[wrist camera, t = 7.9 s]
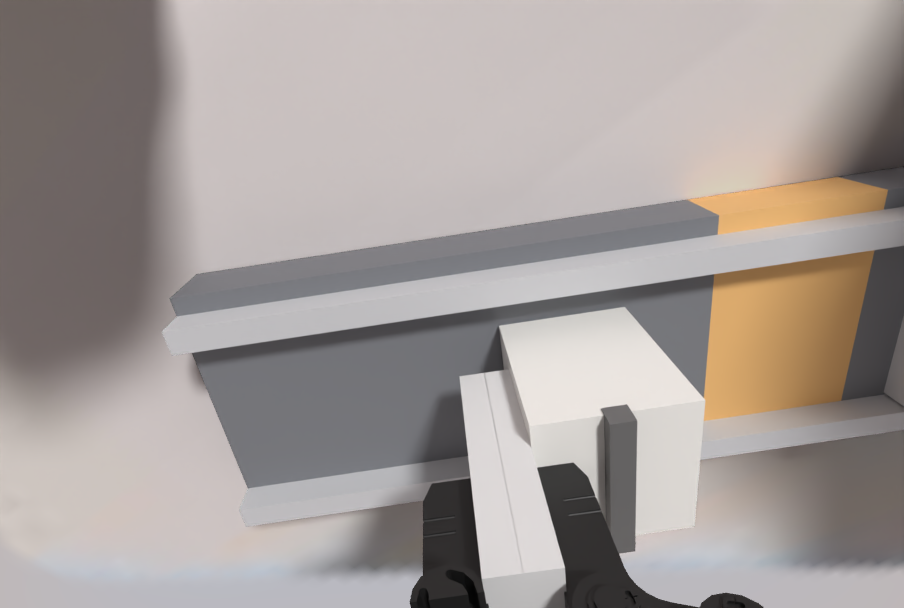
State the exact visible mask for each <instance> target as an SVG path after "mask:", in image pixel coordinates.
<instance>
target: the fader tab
mask: <svg viewBox="0 0 904 608" xmlns="http://www.w3.org/2000/svg"><path fill="white" fill-rule="evenodd" d="M499 331H500V339H501V348H502V357H503V366H504V370H507V369H509V372H510V375H511V379H512V382H513V386H514V389H515V393H516V396H517V400H518V403H519V406H520V410H521V413H522V417H523V420H524V424H525V427H526V431H527V434H528V438H529V441H530V445H531V448H532V452H533V456H534V459H535V463H536V466H537V468H538V467H545V466H551V465H558V464H566V463H574V464H575V465H576V466H577V467H579V468H580V469H581V470H582V471H583V472H584V473H585V474H586V475H587V476H588V478H589V481H590V483H591V486H592V488H593V491H594V493H595V497H596V498H597V501H598V503H599V506H600V508H601V512H602V513H603V516H604V518H605V521H606V523H607V526H608V528H609V531H610V533H611V536H612V538H613V541H614V543H615V546H616V548H617V551H618V553H626V552H632V551H635V536H636V535H643V534H650V533H657V532H664V531H670V530H677V529H684V528H691V527H695V516H696V504H697V492H698V481H699V469H700V457H701V446H702V434H703V422H704V411H705V399H704V398H703V397H702V396H701V395H700V393H699V392H698V391H697V390H696V389H695V388H694V387H693V385H692V384H691V383H690V382H689V381H688V380H687V378H686V377H685V376H684V375H683V374H682V373H681V371H680V370H679V369H678V368H677V367H676V366H675V364H674V363H673V362H672V361H671V360H670V359H669V358H668V356H667V355H666V354H665V353H664V352H663V351H662V349H661V348H660V347H659V346H658V345H657V344H656V342H655V341H654V340H653V339H652V338H651V337H650V336H649V334H648V333H647V332H646V331H645V330H644V329H643V327H642V326H641V325H640V324H639V323H638V322H637V320H636V319H635V318H634V317H633V316H632V315H631V314H630V312H629V311H628V310H627V309H626V308H625V307H620V308H614V309H607V310H600V311H594V312H587V313H580V314H574V315H567V316H560V317H554V318H547V319H540V320H534V321H527V322H521V323H514V324H507V325H501V326H499Z"/></svg>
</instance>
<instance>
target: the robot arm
mask: <svg viewBox="0 0 904 608" xmlns="http://www.w3.org/2000/svg"><path fill="white" fill-rule="evenodd" d="M459 377H460V386H461V395H462V404H463V413H464V423H465V432H466V441H467V450H468V459H469V468H470V477H471V478H468V479H461V480H453V481H446V482H439V483H432V484H431V486H430V488H429V490H428V492H427V494H426V496H425V499H424V501H423V521H424V523H423V538H424V539H423V576H421V577H420V579H419V580H418V582H417V583H416V585H415V586H414V588H413V590H412V595H411V599H410V605H411V608H698V607H693V606H688V605H682V604H677V603H672V602H668V601H664V600H660V599H658V598H655V597H654V596H652V595H649V594H647V593H646V592H645V591H643V590H642V589H641V588H640V587H638V586H637V585H636V584H635V583H634V582H633V580H632V579H631V578H630V577H629V575H628V573H627V572H626V570H625V568H624V566H623V563H622V561H621V558H620V556H619V553H618V551H617V548H616V546H615V543H614V541H613V538H612V536H611V533H610V531H609V528H608V526H607V523H606V521H605V518H604V516H603V513H602V512H601V508H600V506H599V503H598V501H597V498H596V497H595V493H594V491H593V488H592V486H591V483H590V481H589V478H588V476H587V475H586V474H585V473H584V472H583V471H582V470H581V469H580V468H579V467H577V466H576V465H575V464H574V463H566V464H558V465H551V466H545V467H538V468H537V466H536V463H535V459H534V456H533V452H532V448H531V445H530V441H529V438H528V434H527V431H526V427H525V424H524V420H523V417H522V413H521V410H520V406H519V403H518V400H517V396H516V393H515V389H514V386H513V382H512V379H511V375H510V372H509V369H507V370H501V371H494V372H487V373H479V374H472V375H465V376H459ZM700 608H763V607H762V606H761V605H760V604H759V603H756V602H754V601H752V600H750V599H748V598H746V597H744V596H742V595H736V594H730V593H722V594H716V595H711V596H710V597H709V598H707V599H706V600H705V601H704V602H702V603H701V606H700Z"/></svg>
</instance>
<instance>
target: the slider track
mask: <svg viewBox="0 0 904 608" xmlns="http://www.w3.org/2000/svg"><path fill="white" fill-rule="evenodd" d="M170 301H171V303H172V306H173V308H174V311H175V313H176V315H177V317H176V318H175V319H174V320H173V321H172V322H171V323H170V324H169V325H168V326H167V327H166V328H165V329H164V330H163V331H162V334H163V336H164V339H165V341H166V343H167V346H168V348H169V350H170V352H171V355H172V356H174V355H180V354H187V353H192V354H193V357H194V359H195V361H196V364H197V366H198V369H199V371H200V374H201V376H202V378H203V381H204V383H205V386H206V388H207V390H208V393H209V395H210V398H211V400H212V403H213V405H214V407H215V410H216V412H217V415H218V417H219V420H220V422H221V424H222V427H223V429H224V432H225V434H226V436H227V439H228V441H229V444H230V446H231V449H232V451H233V453H234V456H235V458H236V461H237V463H238V466H239V468H240V470H241V473H242V475H243V478H244V480H245V482H246V485H247V487H248V490H247V492H246V494H245V497H244V499H243V501H242V504H241V506H240V509H239V512H240V514H241V516H242V518H243V521H244V523H245V525H246V527H248V526H255V525H261V524H268V523H275V522H282V521H289V520H295V519H302V518H309V517H316V516H323V515H329V514H336V513H343V512H350V511H357V510H364V509H370V508H377V507H384V506H391V505H398V504H404V503H411V502H418V501H424V499H425V496H426V494H427V492H428V490H429V488H430V486H431V484H432V483H439V482H446V481H453V480H461V479H468V478H471V477H470V468H469V459H468V450H467V441H466V432H465V423H464V413H463V404H462V395H461V386H460V377H459V376H465V375H472V374H479V373H487V372H494V371H501V370H504V366H503V357H502V348H501V339H500V331H499V326H501V325H507V324H514V323H521V322H527V321H534V320H540V319H547V318H554V317H560V316H567V315H574V314H580V313H587V312H594V311H600V310H607V309H614V308H620V307H625V308H626V309H627V310H628V311H629V312H630V314H631V315H632V316H633V317H634V318H635V319H636V320H637V322H638V323H639V324H640V325H641V326H642V327H643V329H644V330H645V331H646V332H647V333H648V334H649V336H650V337H651V338H652V339H653V340H654V341H655V342H656V344H657V345H658V346H659V347H660V348H661V349H662V351H663V352H664V353H665V354H666V355H667V356H668V358H669V359H670V360H671V361H672V362H673V363H674V364H675V366H676V367H677V368H678V369H679V370H680V371H681V373H682V374H683V375H684V376H685V377H686V378H687V380H688V381H689V382H690V383H691V384H692V385H693V387H694V388H695V389H696V390H697V391H698V392H699V393H700V395H701V396H702V397H703V398H704V399H705V411H704V422H703V434H702V446H701V457H700V460H704V459H710V458H717V457H724V456H731V455H738V454H744V453H751V452H758V451H765V450H772V449H778V448H785V447H792V446H799V445H806V444H812V443H819V442H826V441H833V440H840V439H846V438H853V437H860V436H867V435H874V434H880V433H887V432H894V431H901V430H904V167H900V168H893V169H886V170H880V171H873V172H867V173H860V174H854V175H847V176H840V177H834V178H827V179H821V180H814V181H807V182H801V183H794V184H788V185H781V186H775V187H768V188H761V189H755V190H748V191H742V192H735V193H729V194H722V195H715V196H709V197H702V198H696V199H689V200H682V201H676V202H669V203H663V204H656V205H650V206H643V207H636V208H630V209H623V210H617V211H610V212H604V213H597V214H590V215H584V216H577V217H571V218H564V219H557V220H551V221H544V222H538V223H531V224H525V225H518V226H511V227H505V228H498V229H492V230H485V231H479V232H472V233H465V234H459V235H452V236H446V237H439V238H432V239H426V240H419V241H413V242H406V243H400V244H393V245H386V246H380V247H373V248H367V249H360V250H353V251H347V252H340V253H334V254H327V255H321V256H314V257H307V258H301V259H294V260H288V261H281V262H275V263H268V264H261V265H255V266H248V267H242V268H235V269H228V270H222V271H215V272H209V273H202V274H196V275H195V276H194V277H193V278H192V279H191V280H190V281H189V282H188V283H186V284H185V285H184V286H183V287H182V288H181V289H180V290H179V291H178V292H176V293H175V294H174V295H173V296H172V297H171V298H170Z"/></svg>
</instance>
